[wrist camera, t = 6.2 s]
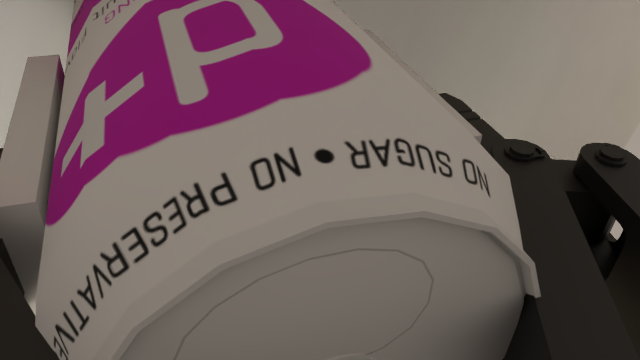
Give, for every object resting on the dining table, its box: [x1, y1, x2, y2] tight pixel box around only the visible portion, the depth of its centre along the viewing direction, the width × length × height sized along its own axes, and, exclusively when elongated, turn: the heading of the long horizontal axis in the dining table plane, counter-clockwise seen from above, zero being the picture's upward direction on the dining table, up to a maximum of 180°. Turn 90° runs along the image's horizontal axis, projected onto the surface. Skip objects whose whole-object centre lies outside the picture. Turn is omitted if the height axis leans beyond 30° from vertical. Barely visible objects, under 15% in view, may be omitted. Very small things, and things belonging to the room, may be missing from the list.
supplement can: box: [35, 0, 541, 360], centre depth 14 cm, size 8×8×15 cm
